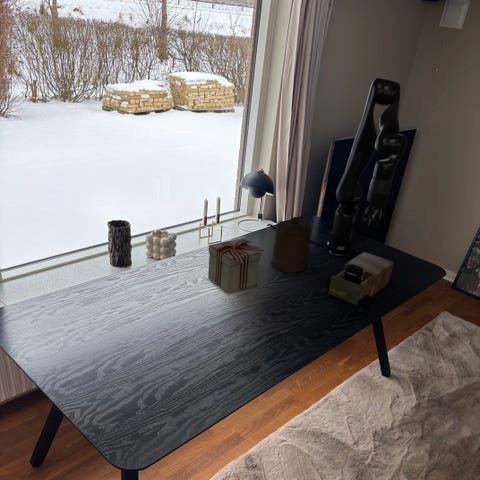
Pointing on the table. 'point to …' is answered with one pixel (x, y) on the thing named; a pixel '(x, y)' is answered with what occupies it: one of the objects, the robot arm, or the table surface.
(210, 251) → the gift box
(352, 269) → the battery charger
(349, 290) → the drawer
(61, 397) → the table surface
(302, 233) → the wooden container
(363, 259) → the cabinet
